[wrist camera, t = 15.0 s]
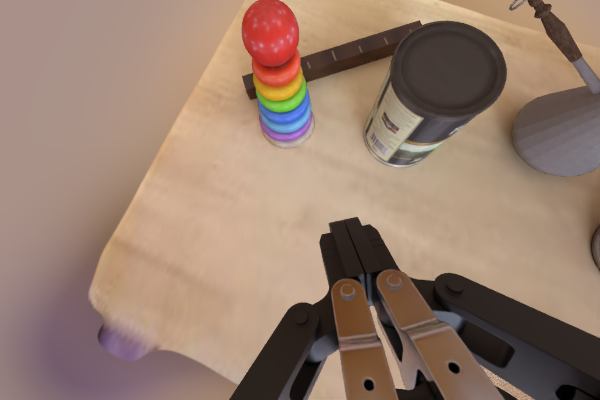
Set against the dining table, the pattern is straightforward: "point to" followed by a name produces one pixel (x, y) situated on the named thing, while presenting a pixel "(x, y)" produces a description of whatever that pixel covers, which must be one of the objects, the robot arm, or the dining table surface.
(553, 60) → the dining table surface
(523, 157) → the coffee pot
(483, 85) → the coffee can
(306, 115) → the stacking toy
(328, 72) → the straightedge
